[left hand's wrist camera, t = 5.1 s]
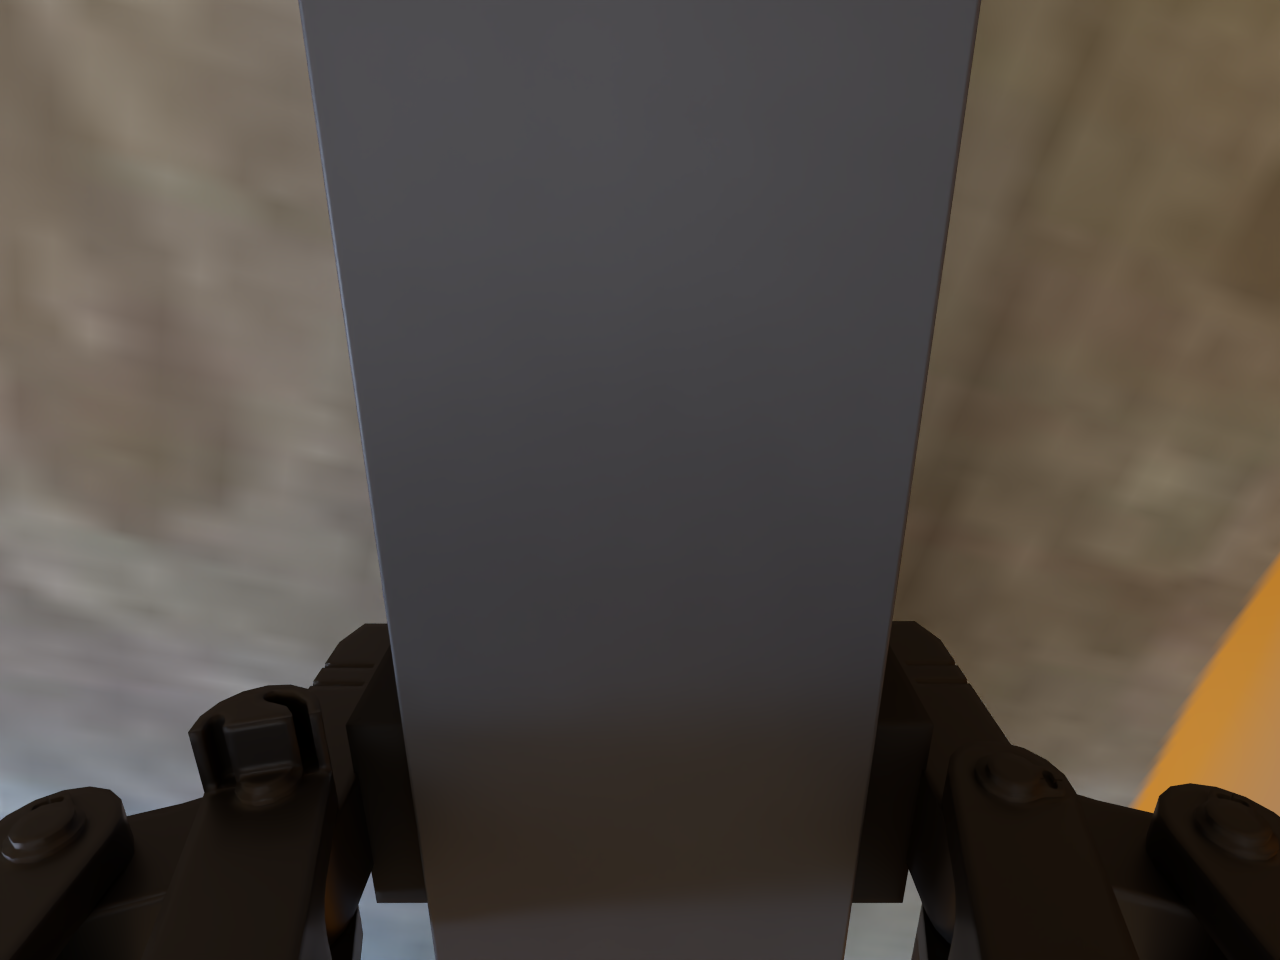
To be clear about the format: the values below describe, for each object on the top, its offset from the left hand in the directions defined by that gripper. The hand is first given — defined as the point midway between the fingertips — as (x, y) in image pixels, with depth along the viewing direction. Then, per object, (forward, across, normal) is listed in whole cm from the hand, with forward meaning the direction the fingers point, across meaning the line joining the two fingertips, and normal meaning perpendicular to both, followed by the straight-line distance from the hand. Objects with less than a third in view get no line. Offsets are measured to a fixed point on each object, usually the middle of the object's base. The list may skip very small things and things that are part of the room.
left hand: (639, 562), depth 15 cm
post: (+1, 0, -20) cm, 20 cm away
